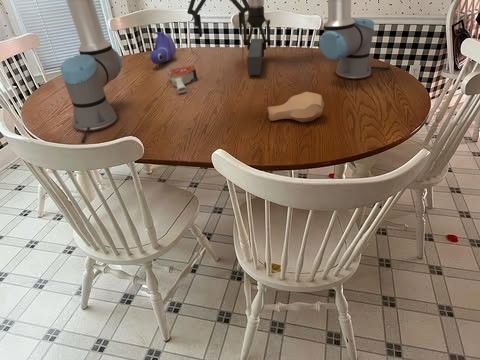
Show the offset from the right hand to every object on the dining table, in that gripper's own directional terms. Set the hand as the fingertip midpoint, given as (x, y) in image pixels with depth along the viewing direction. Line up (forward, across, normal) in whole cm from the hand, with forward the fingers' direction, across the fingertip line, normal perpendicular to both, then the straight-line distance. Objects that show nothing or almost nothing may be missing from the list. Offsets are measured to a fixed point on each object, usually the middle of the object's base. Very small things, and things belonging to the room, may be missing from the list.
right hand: (257, 56), depth 180 cm
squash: (+2, -18, +65) cm, 68 cm away
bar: (+1, 0, +10) cm, 10 cm away
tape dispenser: (+2, +33, +31) cm, 45 cm away
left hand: (-25, +8, +58) cm, 63 cm away
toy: (+3, +49, +1) cm, 49 cm away
